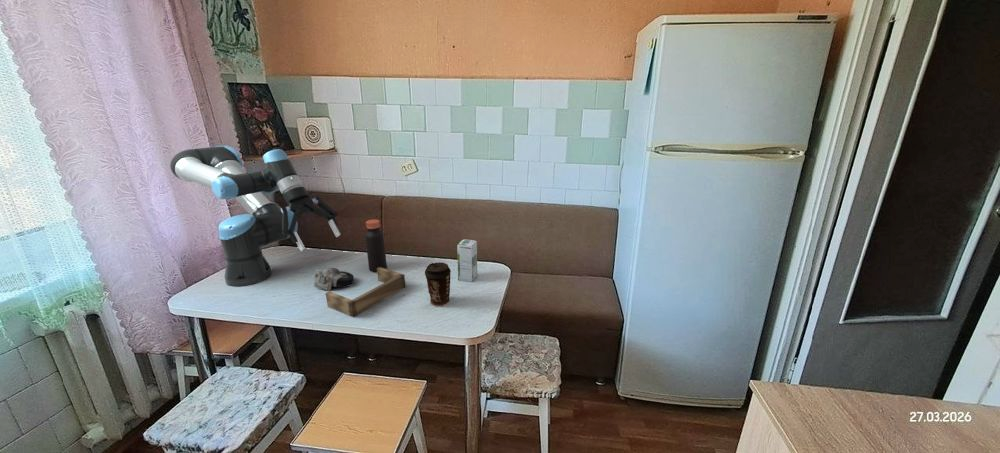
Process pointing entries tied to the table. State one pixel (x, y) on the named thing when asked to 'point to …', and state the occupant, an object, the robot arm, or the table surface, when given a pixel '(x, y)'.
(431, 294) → the coffee cup
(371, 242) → the bottle
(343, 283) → the caster wheel
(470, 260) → the syrup box
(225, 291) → the table surface
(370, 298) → the bay
